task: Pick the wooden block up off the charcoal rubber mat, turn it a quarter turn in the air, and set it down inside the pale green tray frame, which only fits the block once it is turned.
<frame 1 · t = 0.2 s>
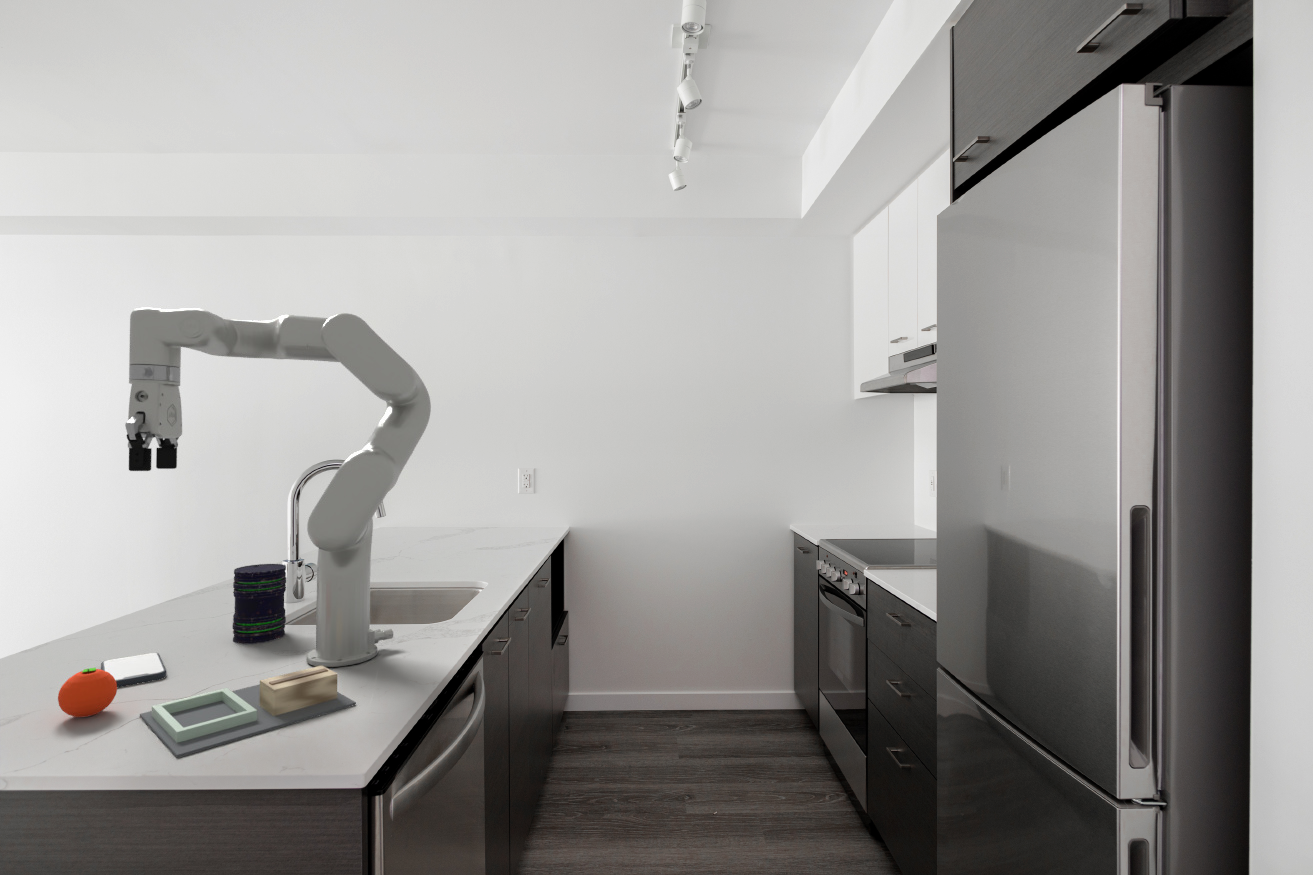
hand: (153, 469, 121), 37 cm above the worktop, tool pointing down, fingers open, 9 cm apart
wooden block: (298, 701, 106), resting on rubber mat
rubber mat: (250, 710, 103), on the worktop
clementine: (88, 715, 101), on the worktop
tray frame: (203, 720, 99), resting on rubber mat
smartphone: (133, 675, 120), on the worktop
storage jar: (259, 638, 142), on the worktop
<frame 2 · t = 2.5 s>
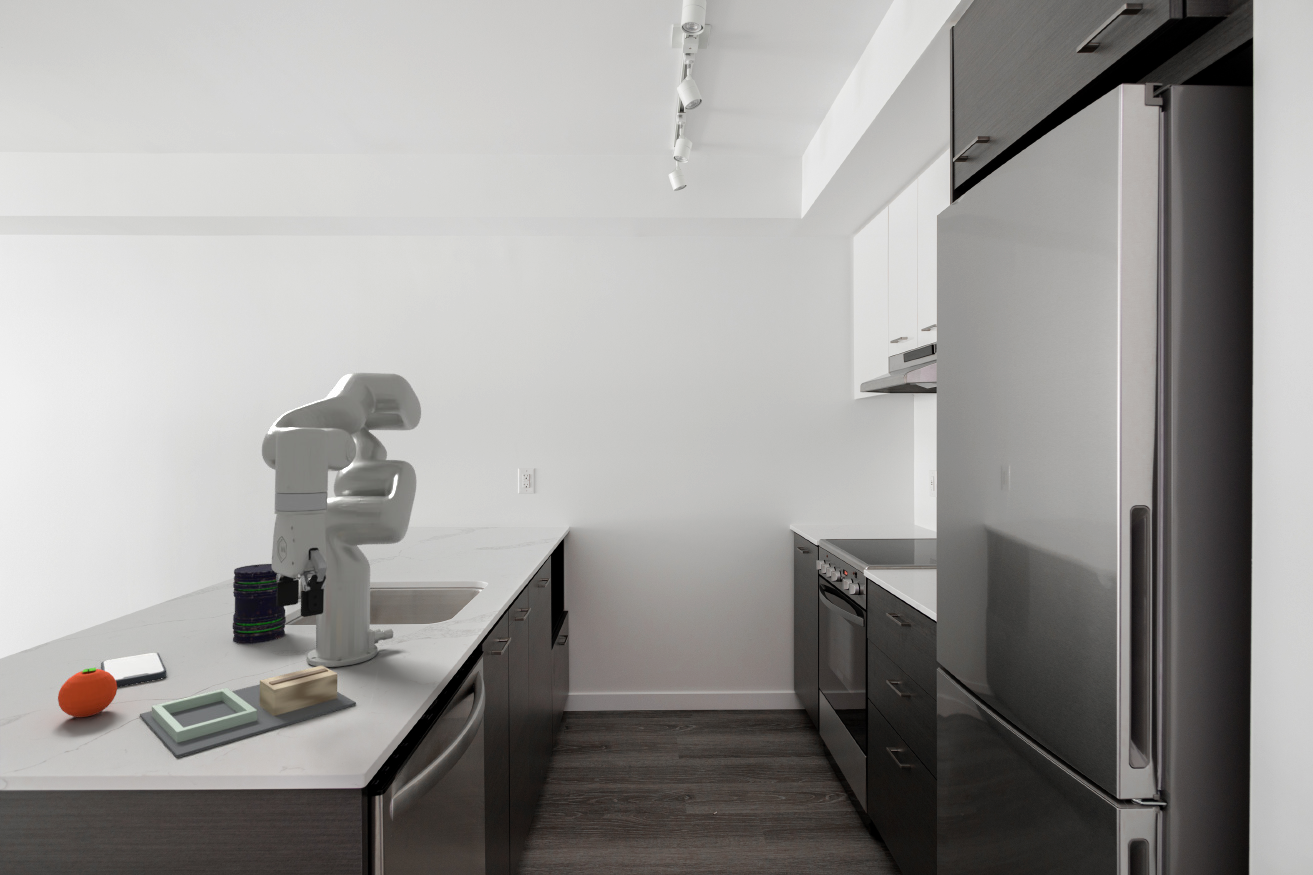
hand: (299, 609, 106), 15 cm above the worktop, tool pointing down, fingers open, 9 cm apart
nothing on the worktop moved.
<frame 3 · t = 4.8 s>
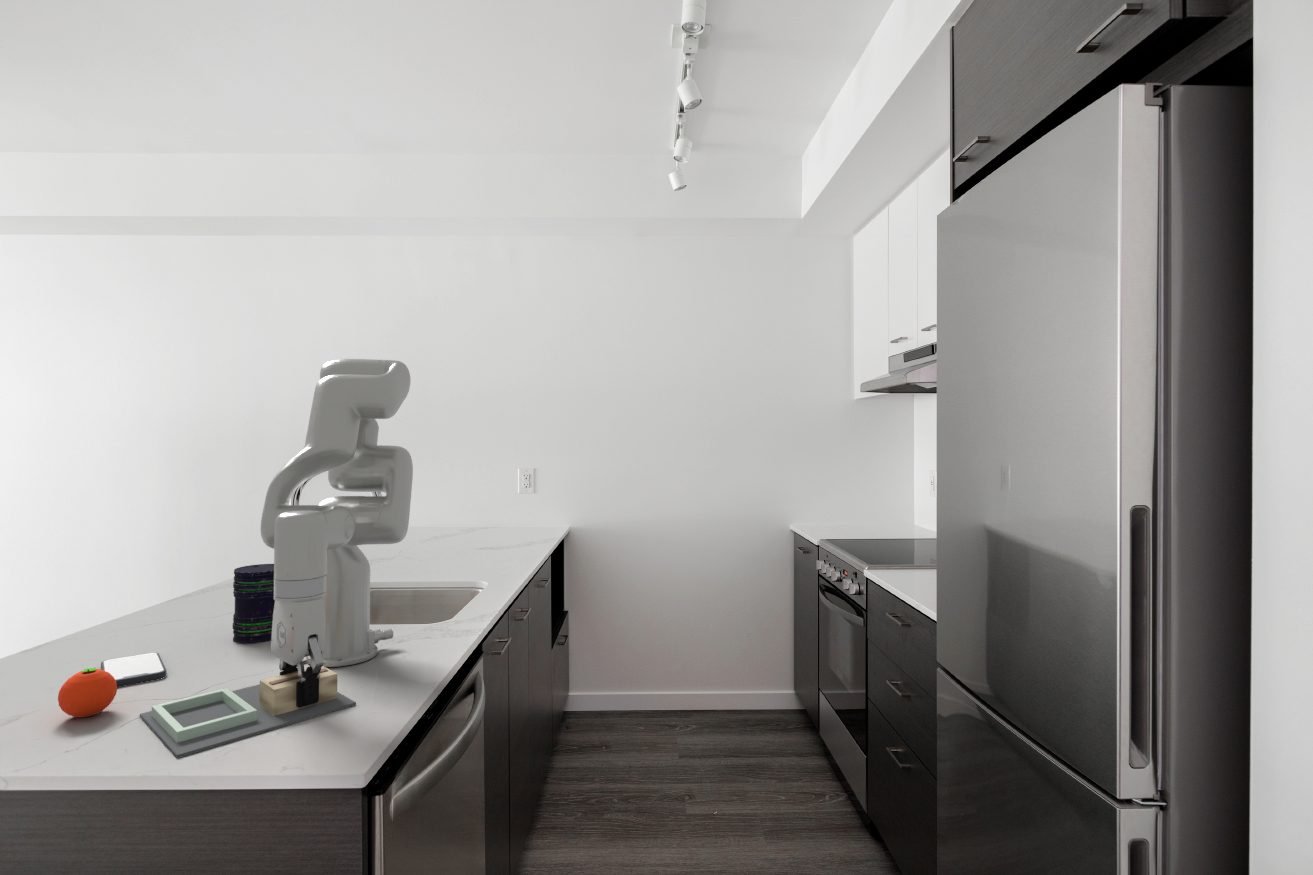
hand: (298, 698, 106), 1 cm above the worktop, tool pointing down, fingers closed on wooden block, 6 cm apart
wooden block: (298, 701, 106), resting on rubber mat, touching gripper
everything else where it was.
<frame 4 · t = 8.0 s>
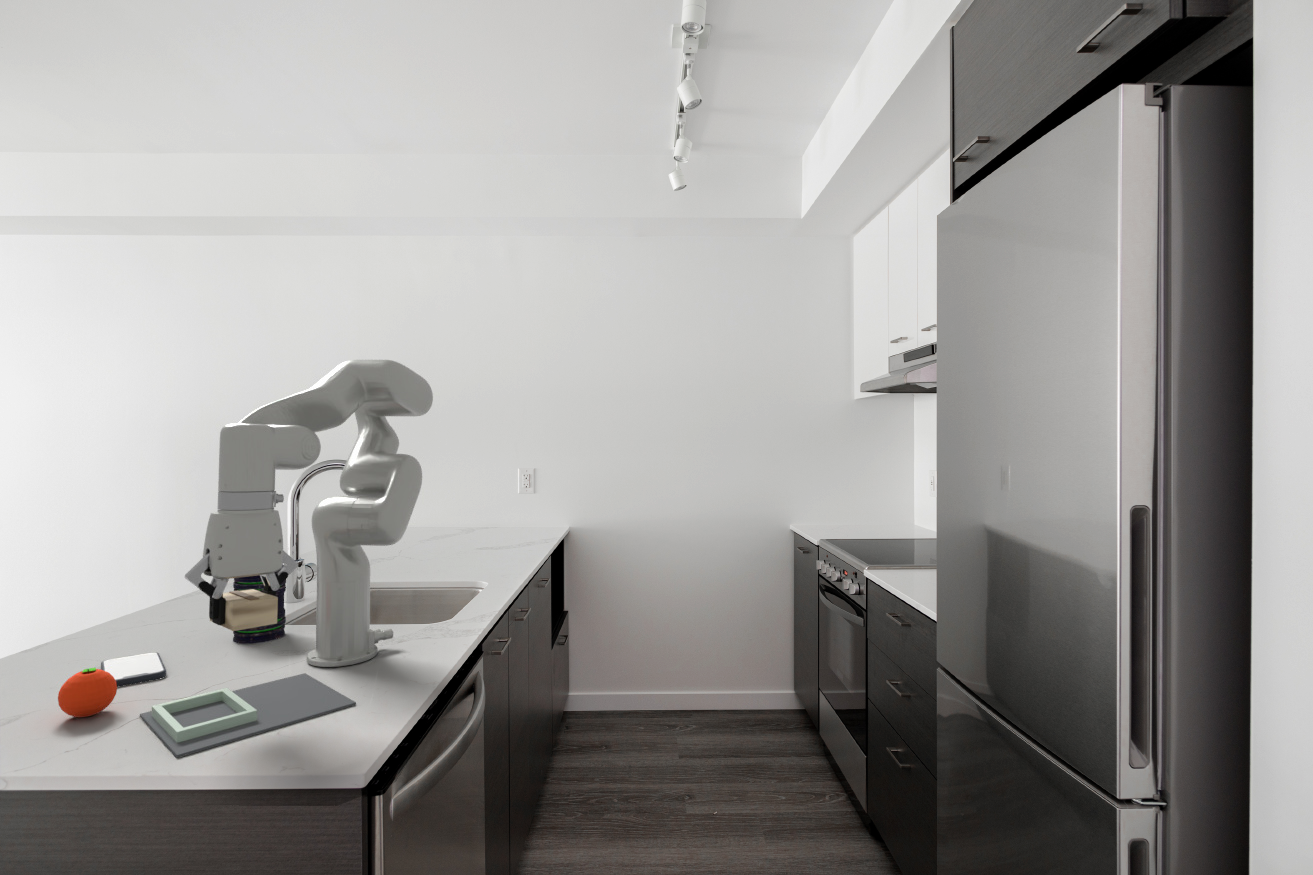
hand: (243, 618, 102), 15 cm above the worktop, tool pointing down, fingers closed on wooden block, 6 cm apart
wooden block: (243, 621, 102), point 14 cm above the worktop, touching gripper
everything else where it was.
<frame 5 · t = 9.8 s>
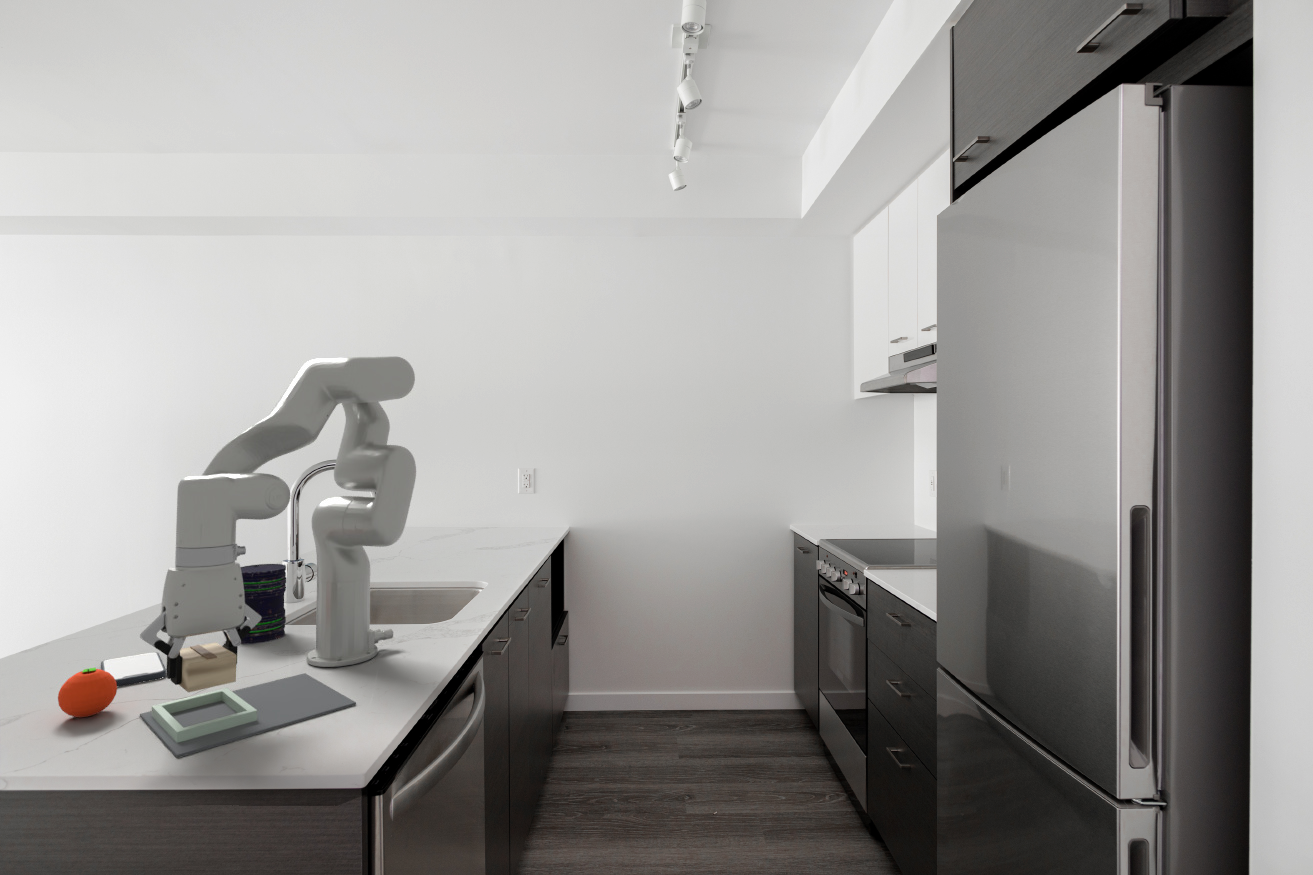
hand: (202, 675, 99), 7 cm above the worktop, tool pointing down, fingers closed on wooden block, 6 cm apart
wooden block: (202, 679, 99), point 6 cm above the worktop, touching gripper
everything else where it was.
when the fingers open (3 cm above the worktop, at t = 11.5 s): wooden block drops 2 cm, resting on rubber mat.
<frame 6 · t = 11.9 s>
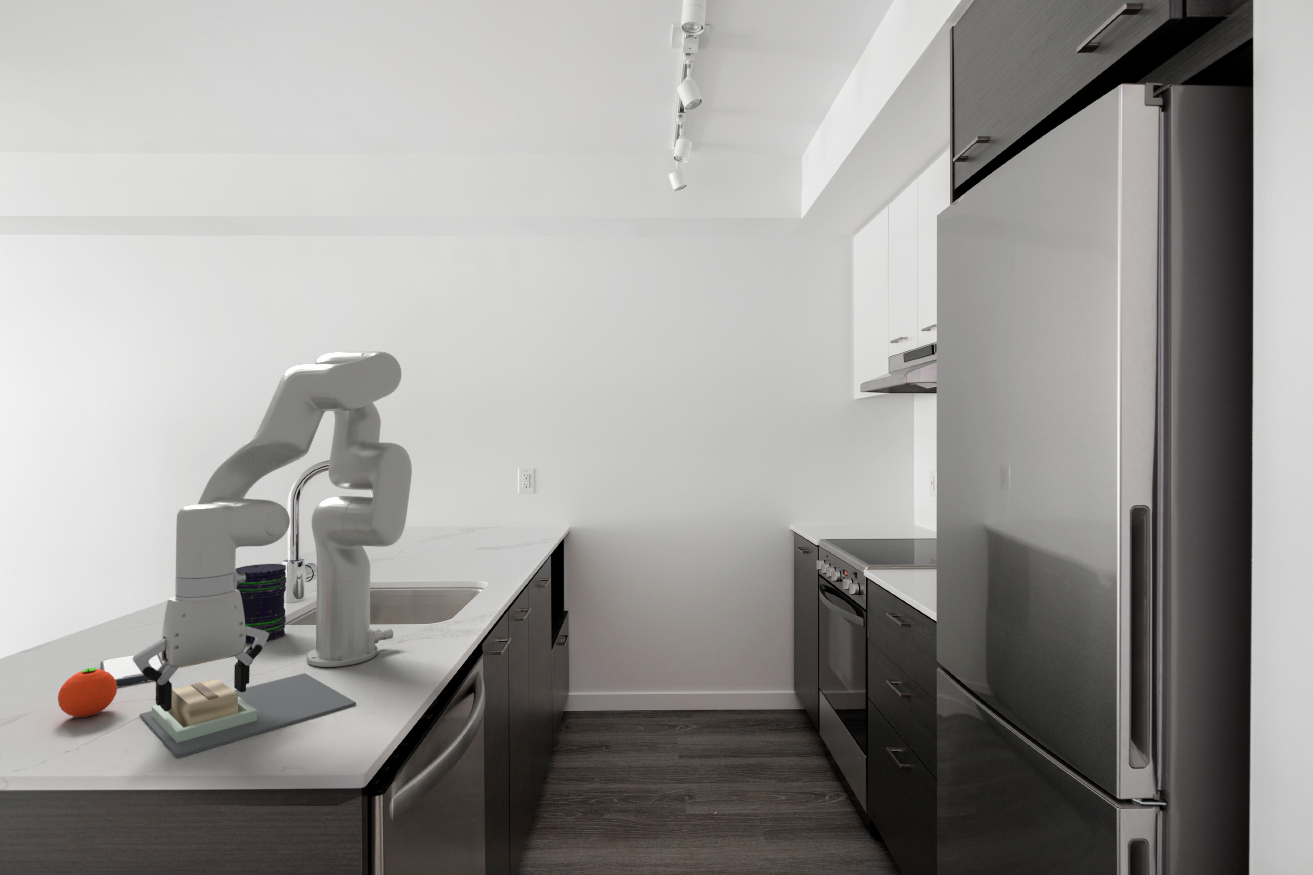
hand: (204, 698, 99), 3 cm above the worktop, tool pointing down, fingers open, 9 cm apart
wooden block: (204, 717, 99), resting on rubber mat
everything else where it was.
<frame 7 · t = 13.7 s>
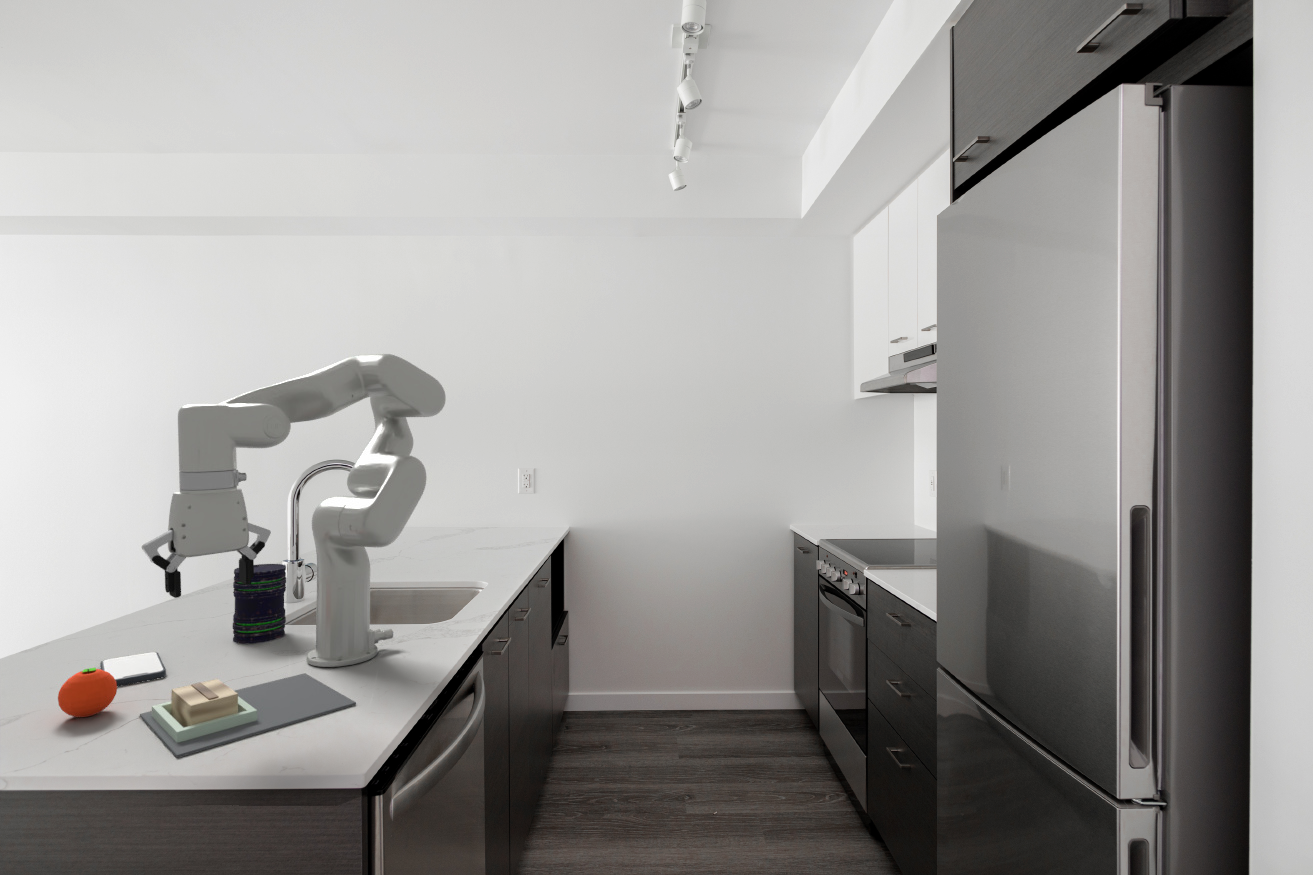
hand: (211, 589, 104), 19 cm above the worktop, tool pointing down, fingers open, 9 cm apart
nothing on the worktop moved.
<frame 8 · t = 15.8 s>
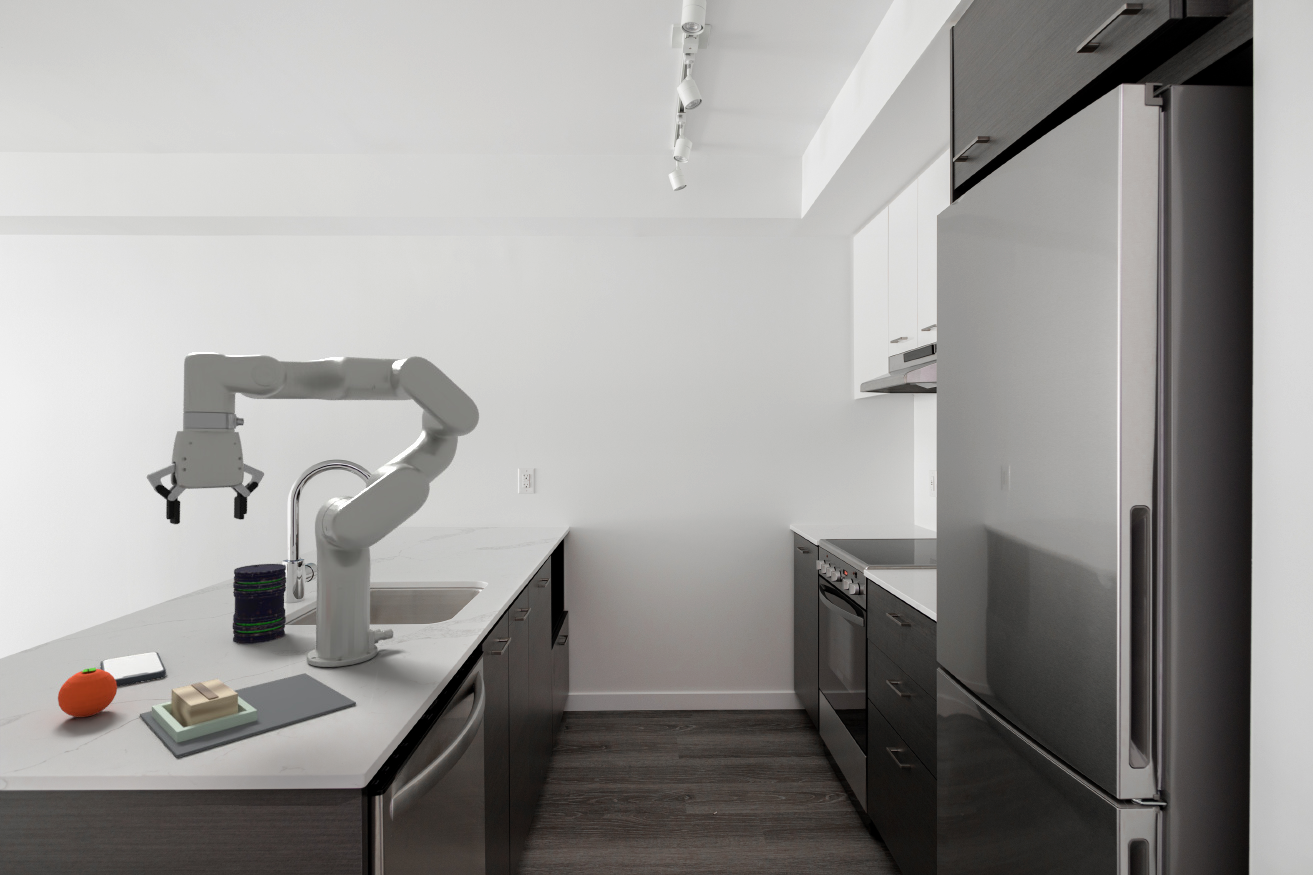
hand: (207, 521, 115), 28 cm above the worktop, tool pointing down, fingers open, 9 cm apart
nothing on the worktop moved.
at the end: wooden block 0.0 cm off-centre on the tray frame, point 0.4 cm above the tray frame's base; the gripper is holding nothing; wooden block tilted 0° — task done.
